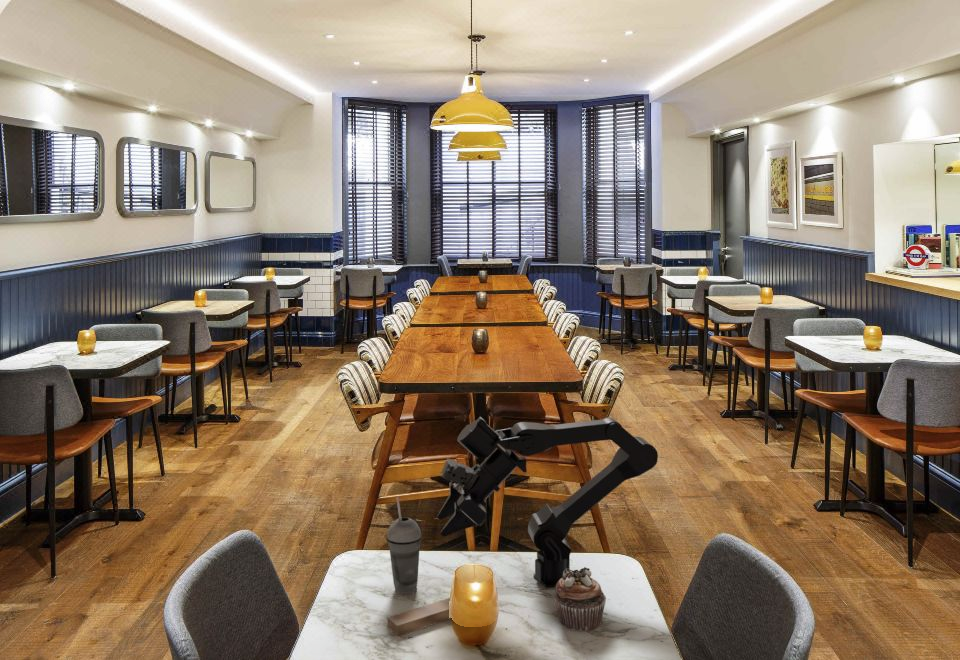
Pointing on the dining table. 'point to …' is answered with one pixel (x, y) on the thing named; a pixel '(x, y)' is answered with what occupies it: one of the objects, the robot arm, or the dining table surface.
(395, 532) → the beverage cup
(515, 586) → the dining table surface
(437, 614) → the walnut block
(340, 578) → the dining table surface
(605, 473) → the robot arm
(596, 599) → the cupcake
